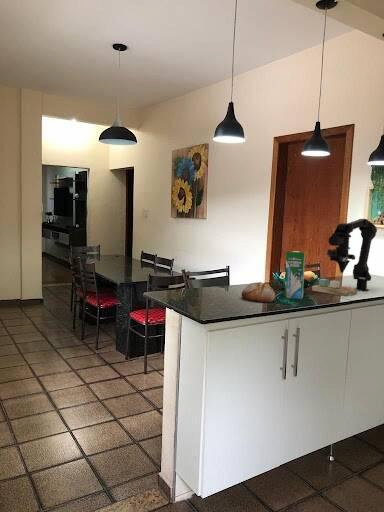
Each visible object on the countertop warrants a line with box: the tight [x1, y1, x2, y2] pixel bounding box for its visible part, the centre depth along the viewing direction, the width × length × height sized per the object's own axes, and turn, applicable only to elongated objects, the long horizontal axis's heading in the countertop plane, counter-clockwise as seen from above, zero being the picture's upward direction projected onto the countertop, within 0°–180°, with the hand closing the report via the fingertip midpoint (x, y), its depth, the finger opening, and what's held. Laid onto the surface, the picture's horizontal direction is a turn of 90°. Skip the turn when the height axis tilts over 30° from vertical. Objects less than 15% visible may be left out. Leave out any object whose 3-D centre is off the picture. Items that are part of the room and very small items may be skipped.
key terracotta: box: [340, 285, 352, 291], centre depth 233 cm, size 4×4×4 cm
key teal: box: [318, 278, 330, 286], centre depth 243 cm, size 4×4×4 cm
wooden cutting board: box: [311, 284, 359, 297], centre depth 238 cm, size 12×22×2 cm, turn 41°
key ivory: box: [329, 279, 341, 288], centre depth 238 cm, size 4×4×4 cm
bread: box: [241, 281, 276, 303], centre depth 213 cm, size 16×20×10 cm
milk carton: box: [283, 250, 306, 300], centre depth 219 cm, size 9×9×25 cm
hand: (341, 272), depth 234 cm, fingers closed
